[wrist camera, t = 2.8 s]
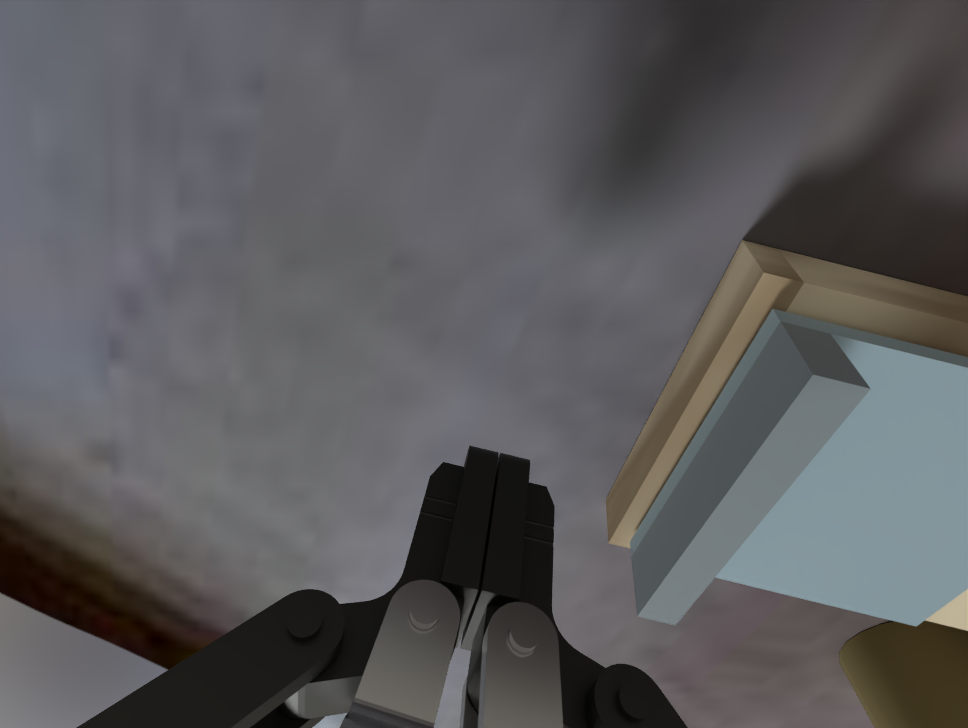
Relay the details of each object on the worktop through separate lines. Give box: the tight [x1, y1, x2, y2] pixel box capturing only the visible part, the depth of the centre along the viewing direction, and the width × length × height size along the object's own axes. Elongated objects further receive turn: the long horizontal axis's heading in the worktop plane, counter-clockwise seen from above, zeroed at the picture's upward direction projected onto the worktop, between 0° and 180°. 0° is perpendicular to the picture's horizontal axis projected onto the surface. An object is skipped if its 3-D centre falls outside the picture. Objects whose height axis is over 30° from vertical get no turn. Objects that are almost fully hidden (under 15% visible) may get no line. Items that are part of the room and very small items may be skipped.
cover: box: [630, 309, 968, 626], centre depth 15 cm, size 10×10×3 cm
